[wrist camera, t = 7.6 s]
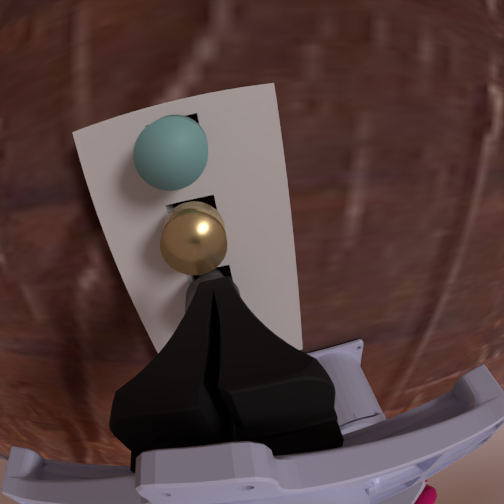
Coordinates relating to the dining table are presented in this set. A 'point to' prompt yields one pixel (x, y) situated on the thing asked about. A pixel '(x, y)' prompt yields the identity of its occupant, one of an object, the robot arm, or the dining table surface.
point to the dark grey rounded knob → (204, 277)
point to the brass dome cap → (193, 238)
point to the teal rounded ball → (171, 152)
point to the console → (209, 183)
